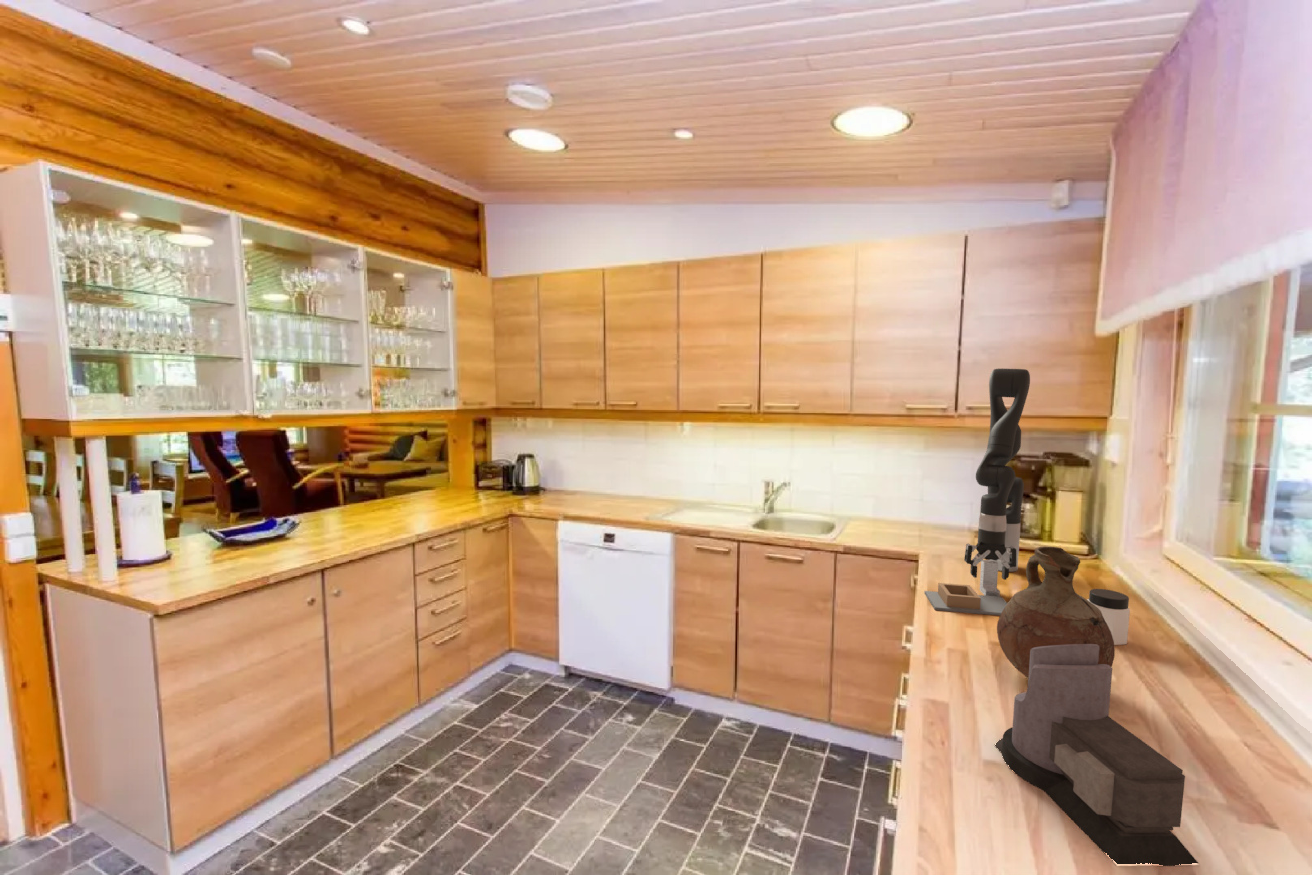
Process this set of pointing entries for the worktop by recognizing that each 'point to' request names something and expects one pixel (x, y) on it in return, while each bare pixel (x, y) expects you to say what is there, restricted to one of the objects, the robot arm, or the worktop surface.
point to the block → (989, 578)
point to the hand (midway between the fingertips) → (989, 577)
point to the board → (964, 600)
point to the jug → (1051, 612)
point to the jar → (1113, 612)
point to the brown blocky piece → (1094, 759)
